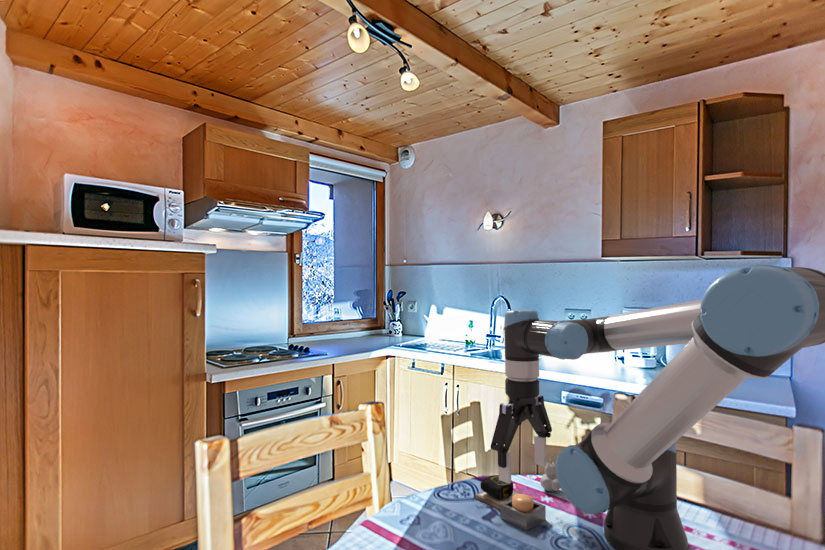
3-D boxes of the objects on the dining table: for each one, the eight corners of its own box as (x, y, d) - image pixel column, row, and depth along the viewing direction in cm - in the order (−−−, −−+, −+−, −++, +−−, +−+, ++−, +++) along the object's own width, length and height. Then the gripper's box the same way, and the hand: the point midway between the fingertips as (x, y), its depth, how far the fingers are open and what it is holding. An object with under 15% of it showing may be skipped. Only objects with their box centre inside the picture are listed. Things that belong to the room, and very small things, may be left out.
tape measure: (479, 493, 113) (478, 477, 113) (501, 487, 116) (501, 472, 116) (496, 504, 107) (496, 488, 107) (519, 498, 110) (519, 482, 110)
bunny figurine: (556, 484, 120) (556, 453, 120) (568, 496, 113) (568, 463, 113) (536, 486, 119) (536, 455, 119) (547, 497, 112) (547, 464, 112)
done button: (537, 512, 102) (537, 499, 102) (525, 519, 99) (525, 505, 99) (520, 505, 106) (520, 492, 106) (507, 511, 103) (507, 498, 103)
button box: (545, 519, 102) (545, 505, 102) (526, 530, 97) (526, 516, 97) (519, 508, 107) (519, 495, 107) (500, 518, 103) (500, 504, 103)
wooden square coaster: (528, 499, 111) (528, 496, 111) (505, 512, 105) (505, 508, 105) (499, 487, 118) (499, 483, 118) (475, 498, 112) (475, 494, 112)
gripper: (538, 369, 116) (540, 454, 115) (473, 383, 99) (474, 483, 98) (565, 373, 110) (567, 463, 109) (501, 389, 93) (503, 495, 93)
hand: (523, 473), depth 104 cm, fingers open, 13 cm apart
